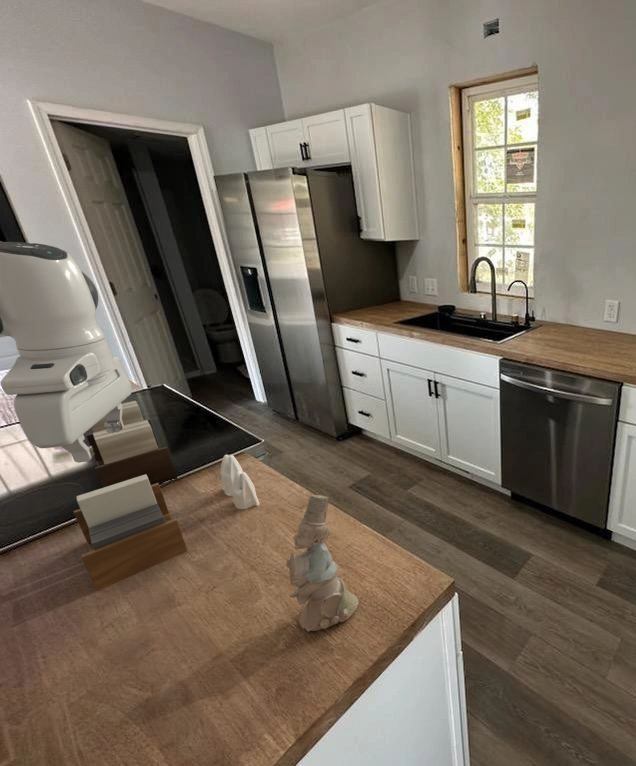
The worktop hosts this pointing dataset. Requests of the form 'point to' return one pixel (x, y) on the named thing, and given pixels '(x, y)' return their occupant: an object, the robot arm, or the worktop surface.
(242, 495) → the shaker set
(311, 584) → the figurine
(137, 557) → the coaster holder
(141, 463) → the brown wooden crate
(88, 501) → the white book
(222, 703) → the worktop surface
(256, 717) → the worktop surface
